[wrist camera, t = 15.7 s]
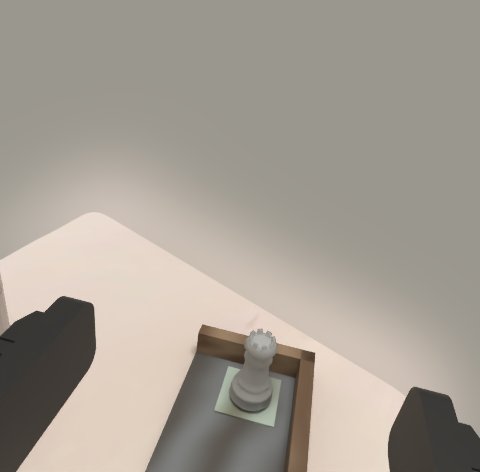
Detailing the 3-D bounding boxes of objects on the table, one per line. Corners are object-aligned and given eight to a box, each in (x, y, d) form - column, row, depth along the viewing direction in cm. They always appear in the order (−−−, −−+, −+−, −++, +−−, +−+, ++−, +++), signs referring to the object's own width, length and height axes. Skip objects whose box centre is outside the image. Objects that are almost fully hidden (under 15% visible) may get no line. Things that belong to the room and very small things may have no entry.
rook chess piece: (251, 372, 46) (263, 316, 42) (280, 400, 43) (295, 343, 39) (219, 391, 43) (229, 333, 39) (248, 422, 40) (261, 363, 36)
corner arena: (144, 476, 35) (146, 451, 34) (199, 346, 49) (202, 324, 47) (295, 522, 34) (304, 497, 32) (308, 375, 48) (315, 353, 46)
